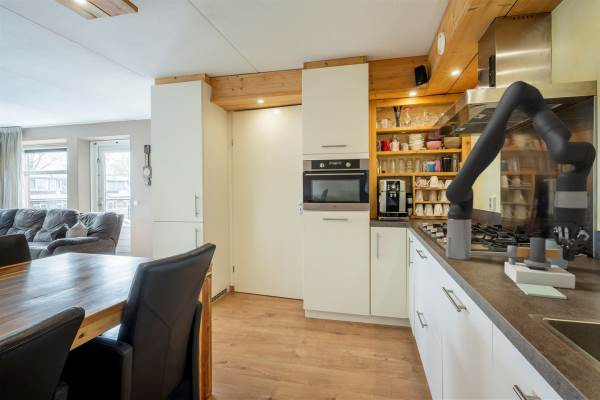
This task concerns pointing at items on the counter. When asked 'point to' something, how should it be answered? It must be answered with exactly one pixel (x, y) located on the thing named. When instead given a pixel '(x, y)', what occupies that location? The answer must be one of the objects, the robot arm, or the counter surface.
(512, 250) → the tan piece
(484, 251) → the counter surface
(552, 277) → the socket block
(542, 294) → the pad
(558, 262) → the cup
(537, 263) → the plug
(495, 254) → the counter surface
